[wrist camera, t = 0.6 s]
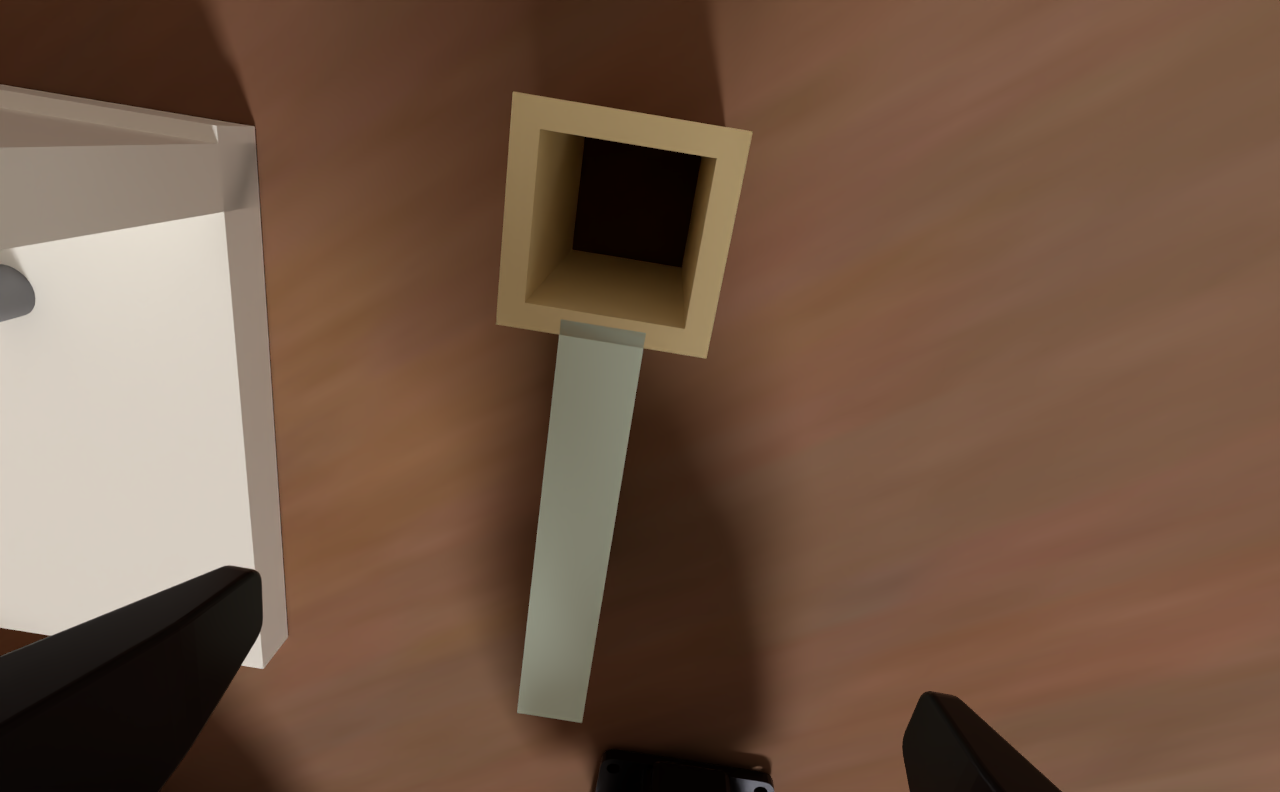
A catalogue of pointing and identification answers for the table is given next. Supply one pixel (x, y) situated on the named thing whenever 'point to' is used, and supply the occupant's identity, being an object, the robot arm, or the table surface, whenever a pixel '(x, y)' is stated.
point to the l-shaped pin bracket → (131, 362)
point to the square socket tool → (596, 352)
